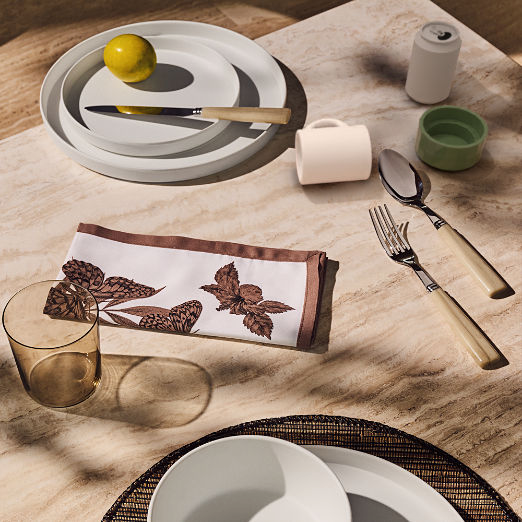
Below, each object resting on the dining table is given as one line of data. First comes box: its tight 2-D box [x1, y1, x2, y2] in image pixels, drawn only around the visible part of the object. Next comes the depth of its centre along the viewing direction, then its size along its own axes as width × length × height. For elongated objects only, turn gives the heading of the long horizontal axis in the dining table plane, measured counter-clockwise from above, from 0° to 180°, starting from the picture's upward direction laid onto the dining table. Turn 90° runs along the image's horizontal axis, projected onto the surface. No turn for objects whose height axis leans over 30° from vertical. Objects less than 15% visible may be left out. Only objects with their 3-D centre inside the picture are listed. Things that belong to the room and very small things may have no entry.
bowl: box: [413, 104, 489, 172], centre depth 104 cm, size 10×10×5 cm
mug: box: [294, 117, 373, 186], centre depth 101 cm, size 12×10×8 cm
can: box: [404, 20, 463, 105], centre depth 112 cm, size 8×8×12 cm
